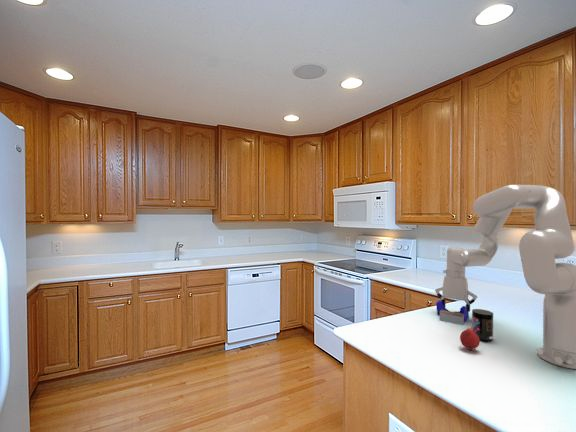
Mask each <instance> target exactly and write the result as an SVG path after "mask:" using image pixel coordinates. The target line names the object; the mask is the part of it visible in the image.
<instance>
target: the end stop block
mask: <svg viewBox="0 0 576 432" xmlns="http://www.w3.org/2000/svg"><path fill="white" fill-rule="evenodd" d="M456 312H457V311H456ZM456 312H454V311H450V310H449V311H446V310H440V315H439V321H442V322H446V323H447V322H448V323H452V324H456V325H461V326H464V324H465V322H464V314H461V313H456Z"/></svg>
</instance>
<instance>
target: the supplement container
mask: <svg viewBox="0 0 576 432" xmlns="http://www.w3.org/2000/svg"><path fill="white" fill-rule="evenodd" d="M471 311H472V312H471V313H472V314H471V315H472V318H471V319H472V320H471V321H472V322H471V324H472V325H471V328H472V330H473V331H474V332H475V333H476V334H477V335H478V337H479V339H480V342H481V343H491V342H493V341H494V312H492V311H490V310H487V309H483V308H482V309H481V308H473V309H472V310H471Z"/></svg>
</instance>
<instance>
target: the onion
mask: <svg viewBox="0 0 576 432" xmlns="http://www.w3.org/2000/svg"><path fill="white" fill-rule="evenodd" d="M459 339H460V343H461V345H462V346H463V347H464V348H466V349H467V350H468V351H473V350H474V349H477V348H478V347H479V345H480V343H481V341H480V339H479V337H478V335H477V334H476V333H475V332H474V331H473V330H472V326H469V327H468V328H466V329H465V330H463V331H462V332H461V333H460V336H459Z"/></svg>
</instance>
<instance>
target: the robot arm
mask: <svg viewBox="0 0 576 432" xmlns="http://www.w3.org/2000/svg"><path fill="white" fill-rule="evenodd" d="M513 209H522V210H523V209H532V210H533V209H534V210H535V212H534V218H533V222H534V225H535V230H531V231H528V232H526V233H525V234H524V235H522V237H521V238H520V240H519V245H518V250H519V256H520V262H521V265H522V273H523V276H524V280H525V282H526V284H527V286H528V287H529V288H530V289H531V290H532V291H533V292H535V293H537V294H540V295H544V298H543V302H542V304H543V305H542V307H543V308H542V328H543V329H542V347H541V348H538V349H536V354H537V356H538V357H539V358H541V360H544V361H545V362H547V363H550V364H552V365H556V366H559V367H562V368H566V369H571V370H576V265H575V264H572V263H567V262H556V260H559V259H565V258H568V257H570V256H571V255H573V253H574V252H575V242H574V238H573V233H572V230H571V226H570V225H571V224H570V221H569V218H568V212H567V211H568V210H567V205H566V200H565V198H564V196H563V194H562V193H561V192H560V191H559V190H557V189H556V188H553V187H550V186H546V185H538V184H508V185H505V186H501V187H500V188H496V189H494V190H493V191H490V192H487V193H485V194H482V195H481V196H479V197H478V198H477V199H476V200H475V201H474V202H473V206H472V210H473V213H474V215H476V216H478V217H479V218H478V220H477V221H476V223H475V225H474V230H475V232H477V234H479V235H480V236H482V242H481V244H480V245H479V247H478V248H471V249H469V248H467V249H464V248H462V247H454V246H453V247H452V246H451V247H448V248H447V250H446V269H443V270H442V273H443V274H445V275H444V277H443V281H442V282H443V283H442V286H441V287H439V288H436V289H435V290H434V292H435V293H436V296H437V297H438V298H439V299H440V300H439V301H442V303H443V305H444V307H445V308H446V301H447V300H446V299H452V300H458V301H464V302H465V306H466V307H467V311H468V312H469V313H470V311H471V305H472V304H473V303H475V301H476V300H477V299H478V296H477V294H474V293H473V292H471V291H470V290H469V285H468V278H467V277H466V267H468V268H469V267H481V266H482V267H483V266H486V265H488V264H489V263H490V262H491V261H492V259H493V258H494V257H495V255H497V251H498V249H499V239H498V235H499V232H501V229H502V228H503V226H504V224H505V223H506V221H507V219H508V218H509V216H510V215H511V213H512V211H513ZM440 291H442V294H441V292H440ZM469 296H470V297H471V298H472V299H469Z"/></svg>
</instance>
